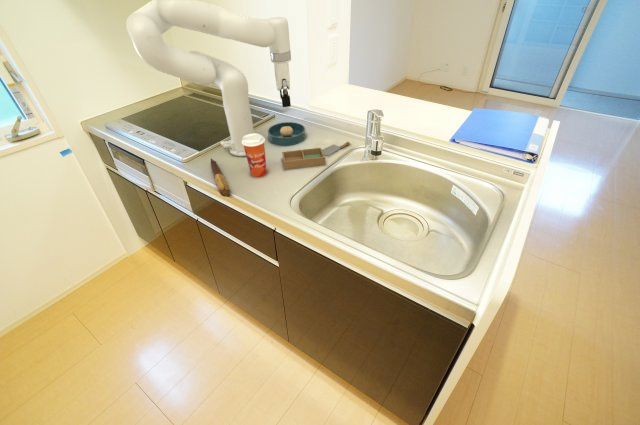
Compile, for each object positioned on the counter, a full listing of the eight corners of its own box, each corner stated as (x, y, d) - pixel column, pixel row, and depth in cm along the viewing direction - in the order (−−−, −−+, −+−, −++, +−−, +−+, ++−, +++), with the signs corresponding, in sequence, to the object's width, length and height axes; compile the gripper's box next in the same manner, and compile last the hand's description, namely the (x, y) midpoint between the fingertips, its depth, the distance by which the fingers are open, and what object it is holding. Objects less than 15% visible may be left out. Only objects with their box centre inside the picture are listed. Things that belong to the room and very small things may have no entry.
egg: (281, 138, 135) (279, 129, 132) (280, 134, 138) (279, 125, 135) (294, 137, 135) (293, 128, 133) (292, 133, 139) (292, 124, 136)
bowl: (269, 147, 130) (268, 139, 128) (267, 131, 142) (266, 124, 140) (308, 143, 132) (307, 135, 130) (302, 127, 144) (302, 120, 142)
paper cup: (249, 180, 111) (242, 144, 102) (247, 169, 117) (240, 134, 108) (271, 176, 113) (266, 140, 104) (268, 166, 118) (262, 131, 110)
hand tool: (232, 191, 103) (228, 199, 104) (216, 157, 122) (212, 164, 122) (223, 187, 101) (218, 195, 101) (208, 154, 119) (204, 160, 120)
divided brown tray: (284, 169, 116) (283, 161, 114) (283, 159, 122) (282, 151, 120) (325, 165, 118) (324, 157, 116) (321, 155, 124) (320, 147, 122)
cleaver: (318, 153, 126) (327, 157, 123) (318, 150, 125) (327, 154, 122) (341, 141, 133) (350, 144, 130) (341, 138, 132) (350, 141, 129)
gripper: (269, 51, 123) (274, 96, 134) (271, 63, 109) (277, 111, 120) (288, 50, 124) (292, 94, 134) (293, 61, 110) (297, 109, 121)
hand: (285, 102), depth 127 cm, fingers open, 9 cm apart
